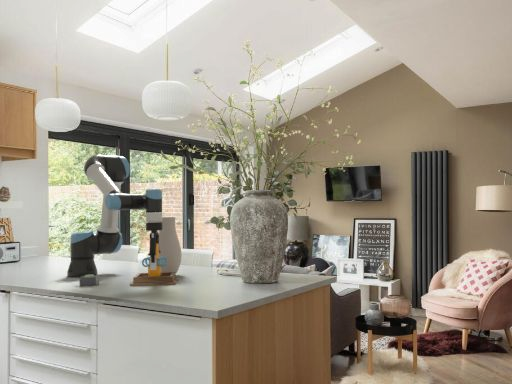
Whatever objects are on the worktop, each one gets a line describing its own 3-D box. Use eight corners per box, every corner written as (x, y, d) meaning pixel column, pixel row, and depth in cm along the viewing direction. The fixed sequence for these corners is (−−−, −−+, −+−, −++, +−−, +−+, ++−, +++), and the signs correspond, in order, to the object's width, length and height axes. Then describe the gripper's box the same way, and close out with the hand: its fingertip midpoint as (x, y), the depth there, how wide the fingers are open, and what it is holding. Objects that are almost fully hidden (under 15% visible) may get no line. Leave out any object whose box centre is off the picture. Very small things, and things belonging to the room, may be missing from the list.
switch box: (83, 284, 235) (83, 275, 235) (99, 283, 236) (99, 275, 236) (79, 286, 228) (79, 277, 228) (95, 286, 229) (95, 277, 229)
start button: (86, 281, 234) (86, 274, 234) (95, 280, 234) (95, 274, 234) (83, 282, 230) (83, 275, 230) (93, 282, 230) (93, 275, 230)
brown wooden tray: (136, 280, 246) (136, 273, 246) (178, 278, 248) (177, 271, 248) (129, 285, 227) (129, 278, 227) (175, 284, 229) (175, 276, 229)
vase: (176, 277, 255) (175, 217, 256) (150, 277, 257) (149, 217, 258) (185, 273, 268) (184, 216, 269) (160, 273, 270) (159, 217, 272)
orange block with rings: (163, 277, 231) (163, 244, 232) (140, 277, 231) (140, 244, 232) (168, 274, 243) (168, 242, 244) (146, 274, 244) (146, 243, 244)
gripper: (149, 221, 250) (149, 265, 249) (142, 222, 226) (143, 271, 225) (164, 221, 251) (165, 265, 250) (159, 222, 227) (160, 271, 226)
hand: (154, 268), depth 238 cm, fingers closed on orange block with rings, 12 cm apart
